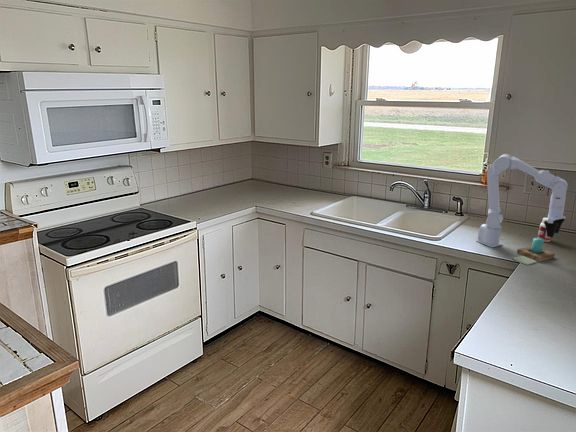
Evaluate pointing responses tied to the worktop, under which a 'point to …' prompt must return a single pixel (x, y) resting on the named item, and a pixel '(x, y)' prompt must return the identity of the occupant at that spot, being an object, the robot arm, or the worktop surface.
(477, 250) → the worktop surface
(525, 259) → the rubber mat
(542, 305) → the worktop surface
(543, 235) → the pill bottle
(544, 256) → the header block
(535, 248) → the teal cylinder
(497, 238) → the robot arm
